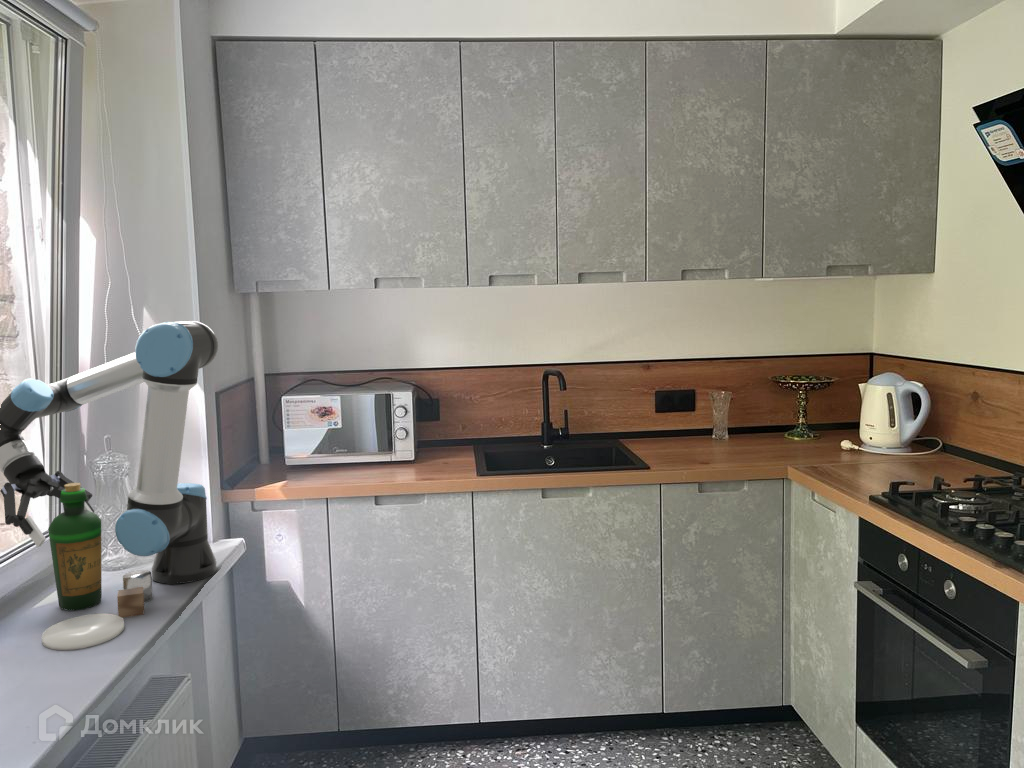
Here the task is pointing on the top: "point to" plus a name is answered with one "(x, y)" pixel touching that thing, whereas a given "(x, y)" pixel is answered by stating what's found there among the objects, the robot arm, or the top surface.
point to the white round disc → (82, 631)
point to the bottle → (76, 551)
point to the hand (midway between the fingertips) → (70, 534)
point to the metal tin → (139, 582)
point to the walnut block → (130, 602)
